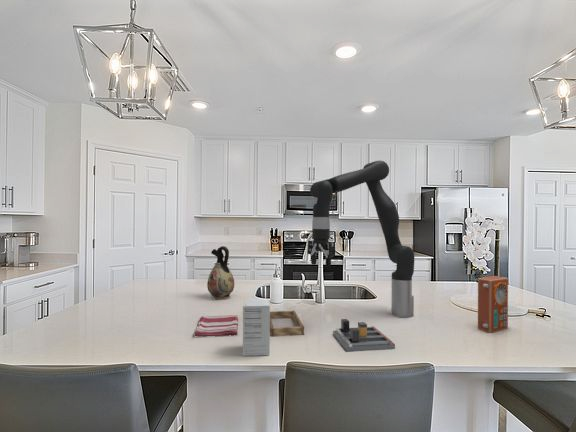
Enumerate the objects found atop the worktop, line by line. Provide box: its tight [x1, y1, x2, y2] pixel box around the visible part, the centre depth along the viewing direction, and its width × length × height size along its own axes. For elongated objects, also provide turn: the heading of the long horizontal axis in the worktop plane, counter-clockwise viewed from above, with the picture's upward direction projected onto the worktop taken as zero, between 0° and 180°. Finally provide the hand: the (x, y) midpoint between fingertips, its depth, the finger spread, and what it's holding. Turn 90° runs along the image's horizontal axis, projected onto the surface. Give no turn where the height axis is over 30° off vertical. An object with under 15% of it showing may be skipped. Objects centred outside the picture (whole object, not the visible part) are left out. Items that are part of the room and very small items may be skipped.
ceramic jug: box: [206, 245, 235, 300], centre depth 187 cm, size 17×15×30 cm
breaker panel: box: [332, 318, 396, 352], centre depth 123 cm, size 18×16×6 cm
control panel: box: [477, 275, 509, 334], centre depth 137 cm, size 21×7×15 cm
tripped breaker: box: [357, 321, 368, 336], centre depth 123 cm, size 2×3×5 cm
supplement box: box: [242, 298, 271, 357], centre depth 114 cm, size 10×9×17 cm
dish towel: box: [193, 314, 239, 337], centre depth 138 cm, size 17×23×3 cm
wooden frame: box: [270, 310, 305, 337], centre depth 139 cm, size 13×23×3 cm, turn 8°
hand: (320, 265), depth 139 cm, fingers open, 8 cm apart
